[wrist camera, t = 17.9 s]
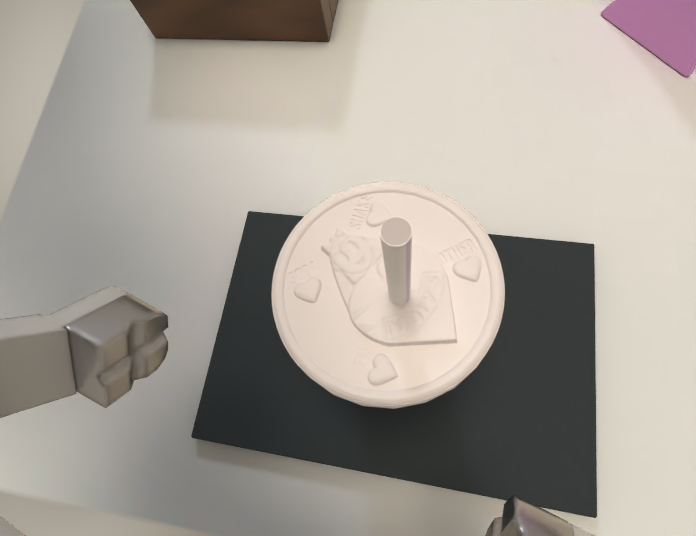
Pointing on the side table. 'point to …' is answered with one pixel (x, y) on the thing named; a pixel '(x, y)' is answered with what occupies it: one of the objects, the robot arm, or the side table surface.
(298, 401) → the mat
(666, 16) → the toy chair
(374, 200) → the smoothie
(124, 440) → the side table surface
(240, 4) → the crate
